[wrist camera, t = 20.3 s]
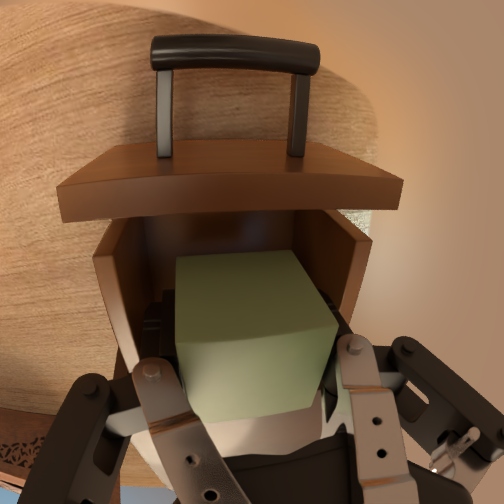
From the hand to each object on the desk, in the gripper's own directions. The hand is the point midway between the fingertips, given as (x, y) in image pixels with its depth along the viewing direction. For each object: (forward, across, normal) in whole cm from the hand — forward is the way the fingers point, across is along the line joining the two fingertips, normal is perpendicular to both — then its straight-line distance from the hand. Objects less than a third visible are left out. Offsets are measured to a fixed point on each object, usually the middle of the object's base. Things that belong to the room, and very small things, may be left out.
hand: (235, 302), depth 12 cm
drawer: (+6, 0, -1) cm, 6 cm away
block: (0, 0, 0) cm, 0 cm away
